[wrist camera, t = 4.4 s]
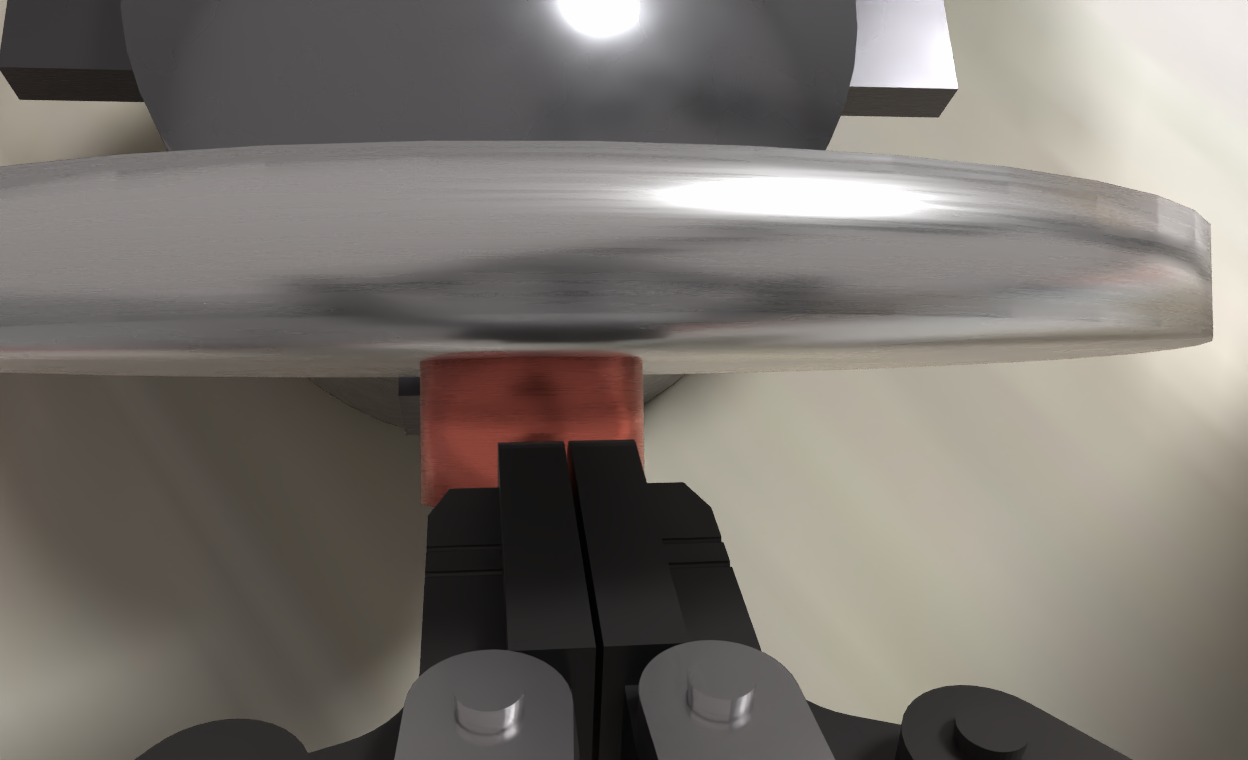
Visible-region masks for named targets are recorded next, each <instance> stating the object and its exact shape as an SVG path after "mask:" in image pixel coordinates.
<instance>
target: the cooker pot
mask: <svg viewBox="0 0 1248 760" xmlns="http://www.w3.org/2000/svg"><path fill="white" fill-rule="evenodd" d="M0 71H1V72H2V74H3V75H4V77H5V78H6V80H7V81H8V83H9V84H10V86H11V87H12V89H13V90H14V92H15V93H16V95H17V96H18V98H19V100H65V101H117V102H145V104H146V106H147V108H148V110H149V112H150V114H151V116H152V119H153V121H154V123H155V125H156V127H157V129H158V131H159V133H160V135H161V137H162V139H163V141H164V143H165V145H166V147H167V150H168V151H183V150H199V149H216V148H232V147H248V146H264V145H298V144H332V143H367V142H402V141H612V142H644V143H677V144H709V145H741V146H762V147H778V148H794V149H809V150H826V148H827V146H828V144H829V142H830V140H831V137H832V135H833V133H834V130H835V128H836V126H837V123H838V121H839V118H840V116H891V117H939V116H940V115H941V113H942V112H943V110H944V109H945V107H946V106H947V104H948V103H949V101H950V100H951V99H952V97H953V96H954V94H955V93H956V91H957V90H958V85H957V79H956V73H955V67H954V61H953V55H952V49H951V44H950V38H949V32H948V26H947V20H946V14H945V8H944V2H943V0H7V7H6V14H5V21H4V28H3V35H2V42H1V49H0ZM684 375H685V374H649V375H643V404H644V403H646V402H648V401H649V400H651V399H652V398H654V397H655V396H657V395H658V394H660V393H661V392H663V391H664V390H666V389H667V388H668V387H670V386H671V385H673V384H674V383H676V382H677V381H678V380H679V379H680V378H681V377H683V376H684ZM307 378H309V379H310V380H311V381H312V382H313V383H315V384H316V385H317V386H318V387H320V388H322V389H323V390H325V391H327V392H328V393H330V394H331V395H333V396H335V397H336V398H338V399H339V400H341V401H343V402H344V403H346V404H348V405H349V406H351V407H353V408H355V409H358V410H360V411H362V412H364V413H366V414H369V415H371V416H373V417H375V418H377V419H380V420H382V421H384V422H386V423H390V424H393V425H396V426H400V427H403V428H405V432H406V435H407V434H421V423H420V377H307Z"/></svg>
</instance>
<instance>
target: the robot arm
mask: <svg viewBox="0 0 1248 760" xmlns="http://www.w3.org/2000/svg"><path fill="white" fill-rule="evenodd" d="M497 469H498V487H495V488H456V489H449V490H448V491H447V493H446V494H445V495H444V496H443V498H442V499H441V500H440V501H439V503H438V504H437V505H436V507H435V508H434V509H433V510H432V512H431V513H430V514H429V515H428V530H427V552H426V567H425V585H424V604H423V622H422V640H421V659H420V674H419V678H418V679H417V680H416V681H415V682H414V684H413V685H412V687H411V688H410V690H409V692H408V694H407V697H406V700H405V703H404V707H403V708H402V709H401V710H400V712H399V713H397V714H396V715H395V716H394V717H393V718H391V719H390V720H389V721H388V722H386V723H385V724H383V725H382V726H380V727H378V728H377V729H375V730H374V731H371V732H369V733H367V734H365V735H363V736H361V737H359V738H356V739H353V740H350V741H347V742H345V743H341V744H338V745H335V746H331V747H328V748H325V749H321V750H318V751H315V752H311V753H307V751H306V749H305V747H304V746H303V744H302V743H301V742H300V741H299V740H298V739H297V738H296V737H295V736H294V735H293V734H291V733H290V732H288V731H287V730H285V729H283V728H281V727H279V726H276V725H274V724H271V723H267V722H263V721H259V720H250V719H226V720H219V721H212V722H208V723H204V724H200V725H196V726H193V727H190V728H188V729H185V730H182V731H180V732H178V733H176V734H174V735H172V736H170V737H168V738H166V739H164V740H163V741H161V742H160V743H158V744H156V745H155V746H153V747H152V748H150V749H149V750H148V751H146V752H145V753H143V754H142V755H141V756H139V757H138V758H137V759H135V760H1132V759H1130V758H1128V757H1126V756H1124V755H1122V754H1121V753H1119V752H1117V751H1115V750H1113V749H1112V748H1110V747H1108V746H1106V745H1104V744H1102V743H1101V742H1099V741H1097V740H1095V739H1093V738H1092V737H1090V736H1088V735H1086V734H1084V733H1083V732H1081V731H1079V730H1077V729H1075V728H1073V727H1072V726H1070V725H1068V724H1066V723H1064V722H1063V721H1061V720H1059V719H1057V718H1055V717H1053V716H1052V715H1050V714H1048V713H1046V712H1044V711H1043V710H1041V709H1039V708H1037V707H1035V706H1033V705H1032V704H1030V703H1028V702H1026V701H1024V700H1022V699H1020V698H1018V697H1015V696H1013V695H1010V694H1007V693H1004V692H1002V691H998V690H994V689H990V688H985V687H979V686H969V685H955V686H945V687H941V688H937V689H933V690H931V691H928V692H926V693H923V694H922V695H920V696H919V697H917V698H916V699H915V700H914V701H913V702H912V703H911V704H910V705H909V706H908V707H907V709H906V711H905V713H904V715H903V720H902V725H899V724H894V723H888V722H883V721H878V720H872V719H867V718H862V717H856V716H851V715H847V714H843V713H838V712H835V711H832V710H829V709H826V708H823V707H820V706H818V705H816V704H814V703H812V702H810V701H807V700H806V699H805V697H804V695H803V693H802V691H801V689H800V687H799V685H798V683H797V682H796V680H795V678H794V677H793V675H792V674H791V673H790V672H789V671H788V670H787V669H786V668H785V666H783V665H782V664H781V663H779V662H778V661H777V660H776V659H774V658H773V657H771V656H769V655H767V654H766V653H764V652H762V651H761V648H760V645H759V642H758V640H757V637H756V634H755V631H754V628H753V625H752V623H751V620H750V617H749V614H748V611H747V608H746V605H745V603H744V600H743V597H742V594H741V591H740V588H739V586H738V583H737V580H736V577H735V574H734V571H733V568H732V567H730V560H729V557H728V554H727V551H726V549H725V546H724V543H723V542H721V534H720V531H719V529H718V526H717V523H716V520H715V517H714V514H713V511H712V509H711V507H710V506H709V505H708V504H707V503H706V502H705V501H703V500H702V499H701V498H700V497H699V496H698V495H697V494H696V493H695V492H693V491H692V490H691V489H690V488H689V487H688V486H687V485H686V484H685V483H683V482H678V483H647V482H646V478H645V475H644V471H643V467H642V463H641V460H640V456H639V452H638V448H637V445H636V442H635V440H634V439H627V440H579V441H569V442H568V446H567V457H566V450H565V444H564V441H543V442H498V452H497Z"/></svg>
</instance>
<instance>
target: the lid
mask: <svg viewBox="0 0 1248 760" xmlns="http://www.w3.org/2000/svg"><path fill="white" fill-rule="evenodd" d="M1212 339H1213V311H1212V269H1211V227H1210V223H1208V222H1207V221H1206V220H1205V219H1204V218H1203V217H1202V216H1201V215H1199V214H1198V213H1197V212H1196V211H1195V210H1193V209H1190V208H1188V207H1185V206H1183V205H1180V204H1178V203H1175V202H1173V201H1170V200H1168V199H1165V198H1163V197H1160V196H1158V195H1154V194H1150V193H1146V192H1141V191H1137V190H1133V189H1129V188H1125V187H1121V186H1116V185H1112V184H1108V183H1104V182H1100V181H1095V180H1089V179H1082V178H1076V177H1070V176H1063V175H1057V174H1051V173H1044V172H1038V171H1032V170H1025V169H1019V168H1013V167H1005V166H995V165H986V164H976V163H966V162H957V161H947V160H938V159H928V158H918V157H909V156H899V155H887V154H872V153H856V152H840V151H825V150H809V149H794V148H778V147H762V146H741V145H709V144H677V143H644V142H612V141H402V142H367V143H332V144H298V145H264V146H248V147H232V148H216V149H199V150H183V151H167V152H151V153H135V154H119V155H108V156H98V157H88V158H79V159H69V160H59V161H49V162H39V163H30V164H20V165H10V166H0V372H1V373H33V374H72V375H122V376H189V377H420V423H421V503H422V504H423V505H427V506H432V507H436V505H437V504H438V503H439V501H440V500H441V499H442V498H443V496H444V495H445V494H446V493H447V491H448V490H449V489H456V488H495V487H498V469H497V452H498V442H543V441H564V444H565V450H566V457H567V446H568V442H569V441H579V440H627V439H634V440H635V442H636V445H637V448H638V452H639V456H640V460H641V463H642V467H643V471H644V418H643V375H649V374H698V373H740V372H778V371H811V370H842V369H871V368H897V367H923V366H945V365H967V364H987V363H1006V362H1024V361H1041V360H1058V359H1072V358H1086V357H1100V356H1112V355H1123V354H1135V353H1145V352H1154V351H1162V350H1171V349H1178V348H1184V347H1190V346H1196V345H1200V344H1204V343H1207V342H1210V341H1212Z"/></svg>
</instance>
